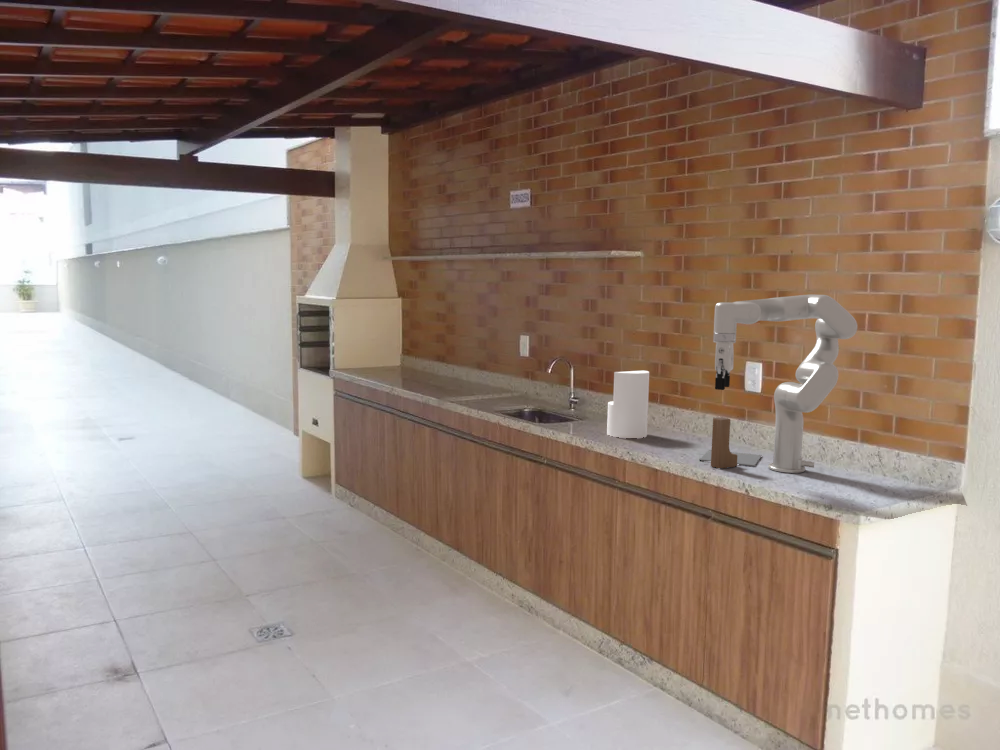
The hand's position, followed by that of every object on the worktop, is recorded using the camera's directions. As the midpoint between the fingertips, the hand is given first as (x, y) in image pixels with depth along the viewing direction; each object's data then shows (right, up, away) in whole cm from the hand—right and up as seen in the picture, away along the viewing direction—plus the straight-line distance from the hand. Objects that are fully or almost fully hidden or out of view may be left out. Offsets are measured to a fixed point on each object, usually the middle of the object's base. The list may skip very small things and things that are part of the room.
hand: (722, 388), depth 285 cm
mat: (+11, -27, +27) cm, 40 cm away
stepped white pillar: (-22, -22, +73) cm, 79 cm away
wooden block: (+4, -29, +13) cm, 32 cm away
